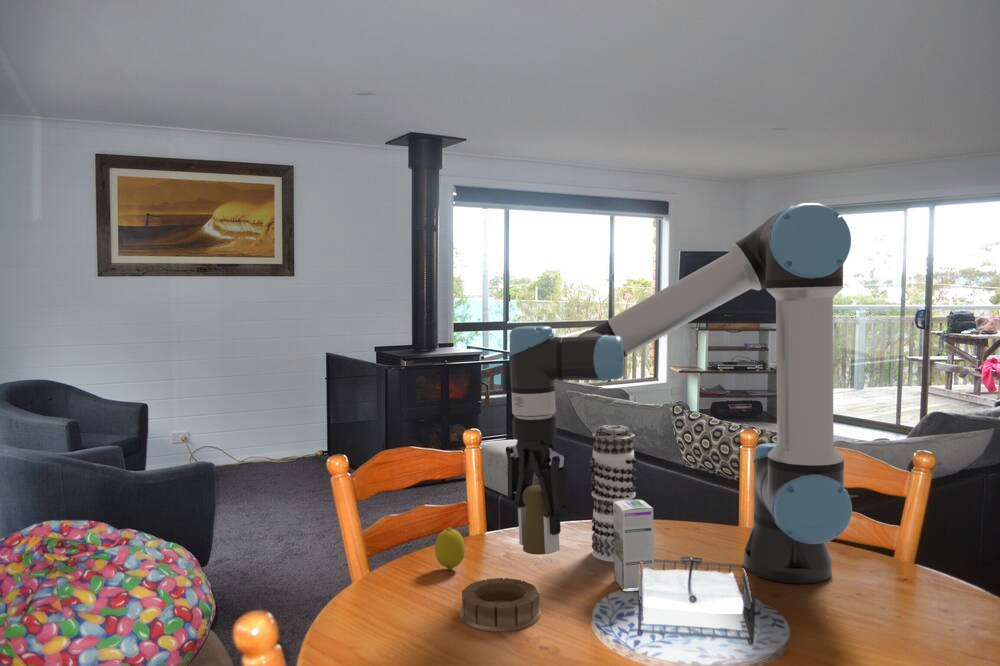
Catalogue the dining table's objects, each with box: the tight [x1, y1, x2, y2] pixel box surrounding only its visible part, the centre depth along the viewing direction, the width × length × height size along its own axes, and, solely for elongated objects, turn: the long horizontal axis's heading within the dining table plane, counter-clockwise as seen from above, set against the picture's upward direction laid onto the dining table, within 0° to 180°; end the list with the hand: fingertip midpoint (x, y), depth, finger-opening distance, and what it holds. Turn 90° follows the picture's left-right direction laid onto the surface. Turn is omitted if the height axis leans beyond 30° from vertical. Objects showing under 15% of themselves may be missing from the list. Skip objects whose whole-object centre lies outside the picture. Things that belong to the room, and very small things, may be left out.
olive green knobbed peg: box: [522, 484, 547, 555], centre depth 135 cm, size 6×6×11 cm
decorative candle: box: [589, 424, 639, 563], centre depth 150 cm, size 9×9×25 cm
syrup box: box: [613, 498, 655, 590], centre depth 135 cm, size 6×6×14 cm
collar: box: [459, 577, 542, 633], centre depth 124 cm, size 13×13×4 cm
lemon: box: [434, 527, 466, 571], centre depth 144 cm, size 6×6×8 cm
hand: (539, 547), depth 135 cm, fingers closed on olive green knobbed peg, 6 cm apart
